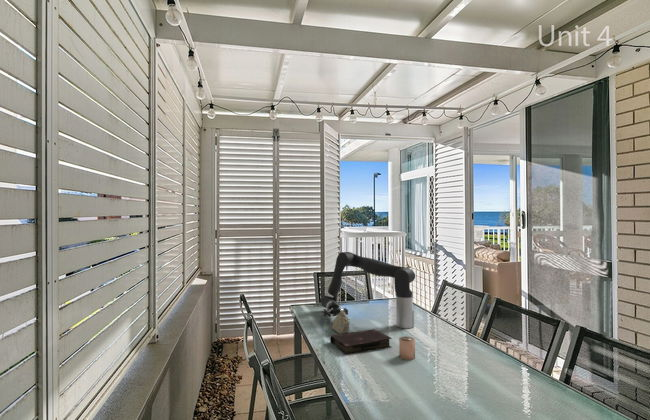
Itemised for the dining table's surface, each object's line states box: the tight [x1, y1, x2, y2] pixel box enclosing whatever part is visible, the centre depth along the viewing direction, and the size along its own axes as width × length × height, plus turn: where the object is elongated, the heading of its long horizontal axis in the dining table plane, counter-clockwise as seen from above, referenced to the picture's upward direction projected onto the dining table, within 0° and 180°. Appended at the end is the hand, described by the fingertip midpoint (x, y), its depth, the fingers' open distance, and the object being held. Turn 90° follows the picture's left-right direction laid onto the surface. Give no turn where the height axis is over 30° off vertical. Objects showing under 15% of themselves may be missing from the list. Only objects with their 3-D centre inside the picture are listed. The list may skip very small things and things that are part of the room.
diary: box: [329, 328, 393, 355], centre depth 184 cm, size 19×25×5 cm
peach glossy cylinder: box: [398, 335, 416, 361], centre depth 169 cm, size 7×7×8 cm
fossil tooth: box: [331, 311, 351, 334], centre depth 206 cm, size 12×6×15 cm
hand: (337, 315), depth 215 cm, fingers open, 8 cm apart
